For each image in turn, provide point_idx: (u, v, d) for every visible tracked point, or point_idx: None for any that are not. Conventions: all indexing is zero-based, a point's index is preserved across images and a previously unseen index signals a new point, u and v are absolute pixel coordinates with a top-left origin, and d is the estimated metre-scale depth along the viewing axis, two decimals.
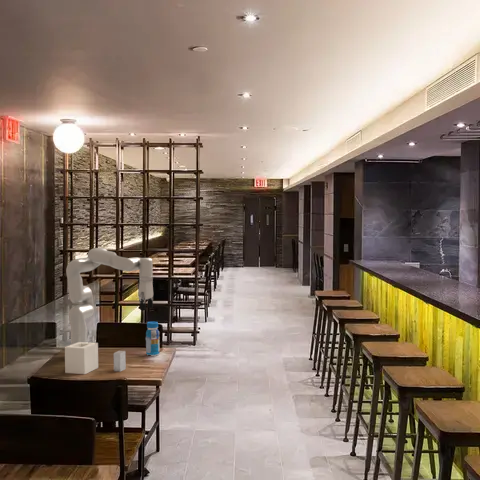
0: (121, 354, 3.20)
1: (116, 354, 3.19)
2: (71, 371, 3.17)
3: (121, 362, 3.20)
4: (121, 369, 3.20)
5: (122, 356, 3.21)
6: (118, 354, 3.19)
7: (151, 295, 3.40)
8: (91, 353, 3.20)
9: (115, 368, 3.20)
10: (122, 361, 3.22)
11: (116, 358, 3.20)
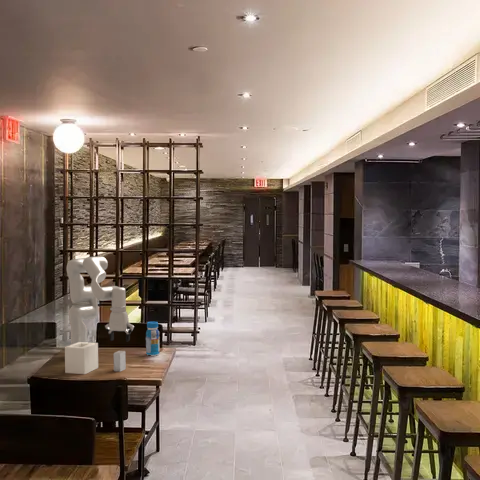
0: (121, 354, 3.20)
1: (116, 354, 3.19)
2: (71, 371, 3.17)
3: (121, 362, 3.20)
4: (121, 369, 3.20)
5: (122, 356, 3.21)
6: (118, 354, 3.19)
7: None
8: (91, 353, 3.20)
9: (115, 368, 3.20)
10: (122, 361, 3.22)
11: (116, 358, 3.20)
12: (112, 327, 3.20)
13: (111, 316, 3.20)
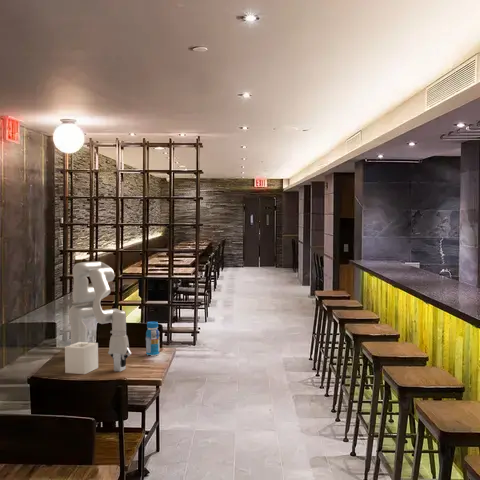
0: None
1: (116, 354, 3.19)
2: (71, 371, 3.17)
3: (121, 362, 3.20)
4: (121, 369, 3.20)
5: None
6: (118, 354, 3.19)
7: None
8: (91, 353, 3.20)
9: (115, 368, 3.20)
10: None
11: (116, 358, 3.20)
12: (112, 350, 3.20)
13: (111, 339, 3.20)
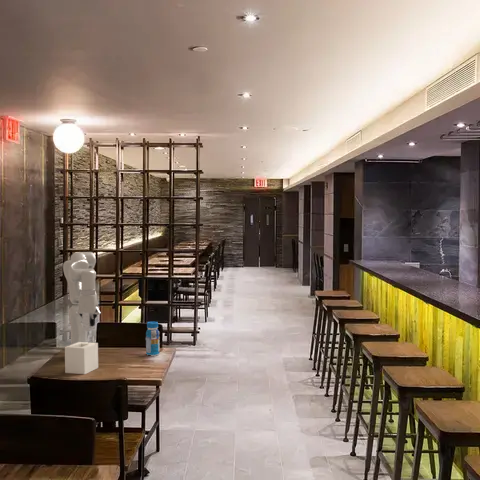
0: None
1: (85, 313, 3.19)
2: (71, 371, 3.17)
3: (90, 321, 3.20)
4: (90, 328, 3.20)
5: None
6: (87, 313, 3.18)
7: None
8: (91, 353, 3.20)
9: (84, 327, 3.19)
10: None
11: (85, 317, 3.19)
12: (81, 310, 3.20)
13: (80, 299, 3.20)
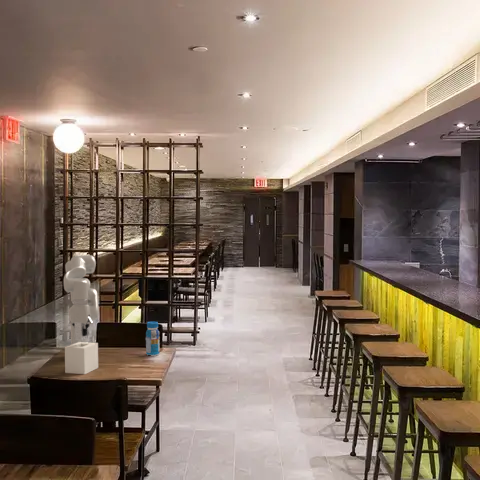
0: None
1: (77, 323, 3.19)
2: (71, 371, 3.17)
3: (82, 331, 3.19)
4: (82, 338, 3.19)
5: None
6: (79, 323, 3.18)
7: None
8: (91, 353, 3.20)
9: (76, 337, 3.19)
10: None
11: (77, 327, 3.19)
12: (73, 319, 3.20)
13: (73, 308, 3.20)
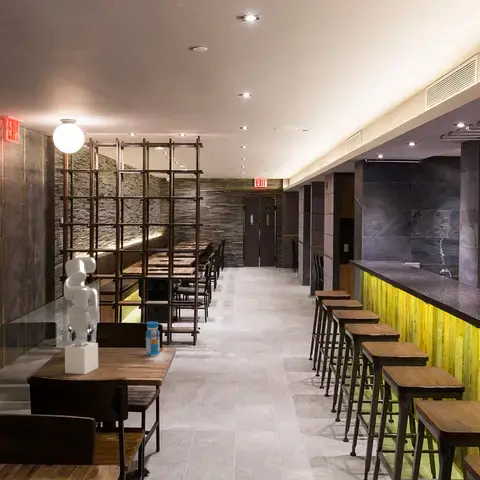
0: (82, 340, 3.20)
1: (77, 340, 3.19)
2: (71, 371, 3.17)
3: None
4: None
5: (83, 342, 3.21)
6: (79, 340, 3.19)
7: None
8: (91, 353, 3.20)
9: None
10: None
11: (77, 343, 3.19)
12: (74, 327, 3.20)
13: (73, 316, 3.20)
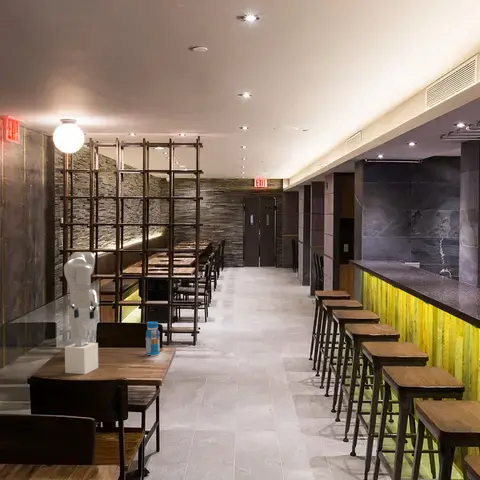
0: (82, 340, 3.20)
1: (77, 340, 3.19)
2: (71, 371, 3.17)
3: None
4: None
5: (83, 342, 3.21)
6: (79, 340, 3.19)
7: None
8: (91, 353, 3.20)
9: None
10: None
11: (77, 343, 3.19)
12: (76, 304, 3.22)
13: (75, 293, 3.22)
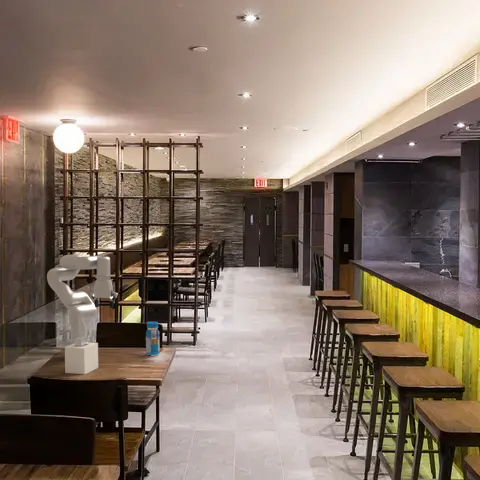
0: (82, 340, 3.20)
1: (77, 340, 3.19)
2: (71, 371, 3.17)
3: None
4: None
5: (83, 342, 3.21)
6: (79, 340, 3.19)
7: None
8: (91, 353, 3.20)
9: None
10: None
11: (77, 343, 3.19)
12: (97, 294, 3.35)
13: (96, 284, 3.36)
